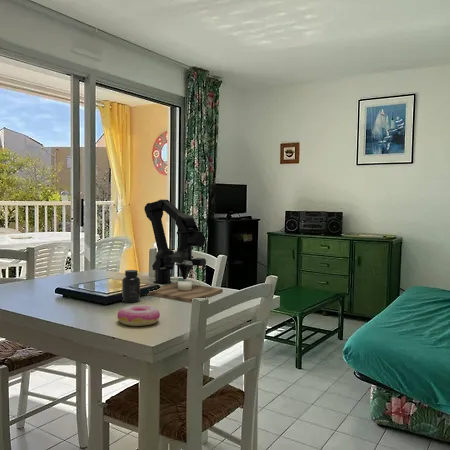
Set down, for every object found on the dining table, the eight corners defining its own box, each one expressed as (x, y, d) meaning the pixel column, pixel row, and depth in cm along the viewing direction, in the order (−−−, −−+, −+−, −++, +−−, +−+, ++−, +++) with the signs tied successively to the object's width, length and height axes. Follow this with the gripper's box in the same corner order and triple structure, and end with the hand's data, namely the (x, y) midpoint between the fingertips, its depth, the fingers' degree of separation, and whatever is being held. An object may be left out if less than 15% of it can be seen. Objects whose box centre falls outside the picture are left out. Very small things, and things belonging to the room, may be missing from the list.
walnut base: (144, 294, 190) (144, 290, 189) (177, 285, 210) (178, 281, 210) (192, 303, 178) (192, 298, 178) (222, 292, 199) (222, 288, 199)
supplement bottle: (141, 299, 181) (142, 269, 180) (136, 303, 174) (137, 272, 173) (125, 298, 181) (125, 268, 181) (119, 302, 175) (120, 271, 174)
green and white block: (193, 290, 192) (193, 283, 192) (179, 290, 190) (179, 283, 190) (186, 284, 204) (186, 277, 204) (173, 284, 203) (173, 277, 202)
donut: (167, 323, 150) (168, 308, 150) (135, 331, 140) (135, 315, 140) (142, 314, 159) (142, 300, 159) (110, 322, 149) (110, 307, 149)
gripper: (157, 244, 199) (157, 279, 200) (194, 248, 191) (193, 284, 192) (171, 242, 209) (170, 276, 210) (207, 245, 201) (206, 280, 202)
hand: (184, 279), depth 203 cm, fingers closed
